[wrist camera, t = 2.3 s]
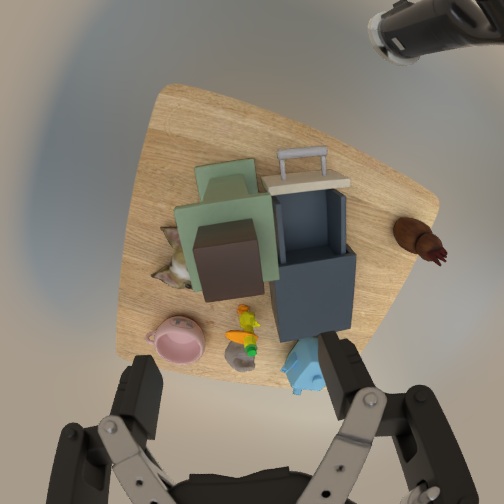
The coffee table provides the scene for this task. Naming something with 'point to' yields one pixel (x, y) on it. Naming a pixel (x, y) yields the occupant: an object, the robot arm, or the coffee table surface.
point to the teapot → (304, 366)
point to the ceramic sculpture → (174, 263)
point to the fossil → (239, 357)
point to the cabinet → (314, 296)
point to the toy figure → (245, 331)
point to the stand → (229, 212)
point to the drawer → (307, 209)
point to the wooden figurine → (419, 239)
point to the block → (228, 260)
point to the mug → (178, 340)
